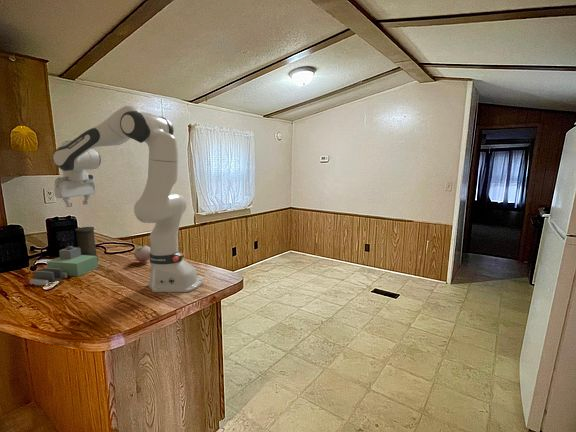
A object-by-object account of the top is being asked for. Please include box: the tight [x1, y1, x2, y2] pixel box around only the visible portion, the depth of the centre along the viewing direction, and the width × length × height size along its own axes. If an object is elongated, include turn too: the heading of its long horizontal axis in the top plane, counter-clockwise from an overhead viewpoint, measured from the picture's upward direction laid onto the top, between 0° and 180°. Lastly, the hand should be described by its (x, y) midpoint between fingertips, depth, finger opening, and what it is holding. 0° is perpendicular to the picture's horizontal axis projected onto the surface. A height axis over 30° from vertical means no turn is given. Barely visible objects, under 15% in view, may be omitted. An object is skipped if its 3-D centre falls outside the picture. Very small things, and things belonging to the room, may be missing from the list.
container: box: [74, 226, 99, 261], centre depth 162 cm, size 9×9×18 cm
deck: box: [29, 245, 99, 286], centre depth 143 cm, size 16×24×11 cm, turn 170°
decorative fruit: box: [133, 243, 151, 263], centre depth 162 cm, size 9×8×10 cm
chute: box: [33, 267, 64, 282], centre depth 137 cm, size 5×9×5 cm, turn 80°
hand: (77, 205), depth 148 cm, fingers open, 8 cm apart
